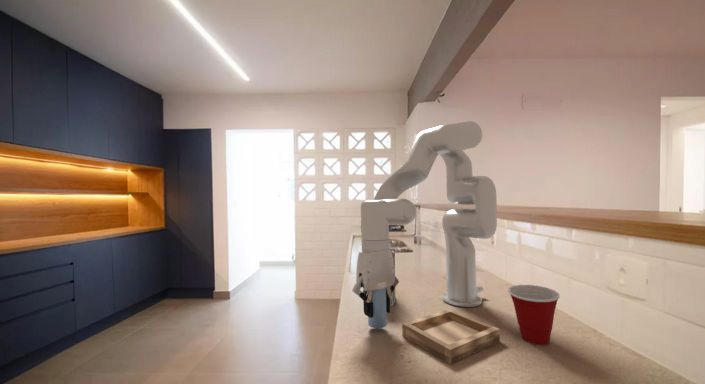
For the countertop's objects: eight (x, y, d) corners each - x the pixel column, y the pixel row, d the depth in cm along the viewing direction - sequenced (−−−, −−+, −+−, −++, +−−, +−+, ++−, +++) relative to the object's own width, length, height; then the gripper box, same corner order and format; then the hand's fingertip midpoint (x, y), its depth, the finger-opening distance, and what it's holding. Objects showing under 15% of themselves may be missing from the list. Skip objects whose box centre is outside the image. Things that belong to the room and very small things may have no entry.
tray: (449, 319, 81) (449, 309, 81) (499, 341, 68) (499, 328, 68) (402, 335, 71) (402, 323, 71) (450, 364, 58) (450, 349, 58)
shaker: (379, 318, 78) (378, 276, 78) (391, 325, 74) (390, 281, 74) (364, 322, 75) (363, 279, 76) (375, 330, 71) (374, 284, 71)
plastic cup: (499, 334, 72) (497, 286, 72) (528, 326, 76) (526, 282, 76) (541, 355, 61) (539, 300, 62) (572, 345, 65) (570, 294, 66)
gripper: (391, 240, 83) (392, 302, 82) (341, 247, 74) (342, 316, 73) (408, 243, 76) (410, 310, 76) (356, 251, 67) (358, 327, 67)
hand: (377, 312), depth 75 cm, fingers closed on shaker, 5 cm apart
